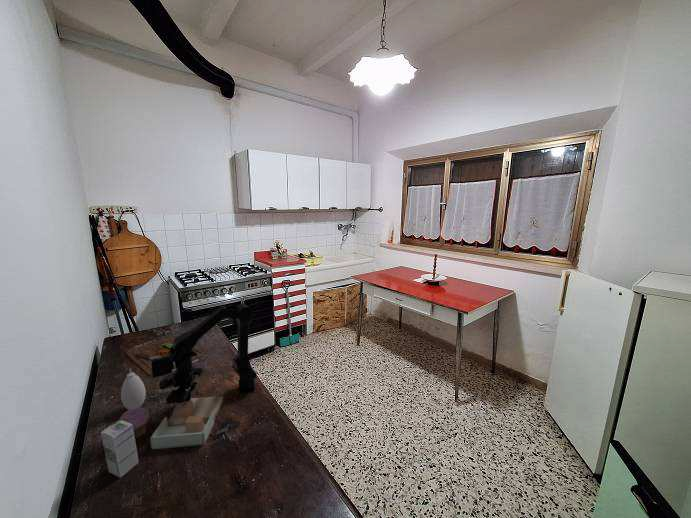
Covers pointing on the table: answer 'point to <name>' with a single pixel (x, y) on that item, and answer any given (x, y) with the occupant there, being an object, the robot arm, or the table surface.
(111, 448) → the syrup box
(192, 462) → the table surface
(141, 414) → the cupcake
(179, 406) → the tile
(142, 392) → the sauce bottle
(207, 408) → the beige flat panel
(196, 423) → the tile
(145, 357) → the chopping board
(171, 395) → the robot arm
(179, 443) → the tray
